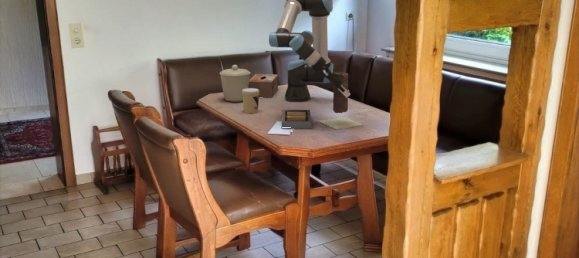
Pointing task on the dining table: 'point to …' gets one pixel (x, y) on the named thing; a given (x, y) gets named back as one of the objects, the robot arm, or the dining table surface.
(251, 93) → the coffee cup
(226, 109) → the dining table surface
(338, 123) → the mat
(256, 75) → the tissue box cover
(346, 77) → the dark brown tall cylinder
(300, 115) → the offcut stack
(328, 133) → the dining table surface
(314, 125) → the dining table surface
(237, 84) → the canister
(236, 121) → the dining table surface
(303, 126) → the offcut rack
